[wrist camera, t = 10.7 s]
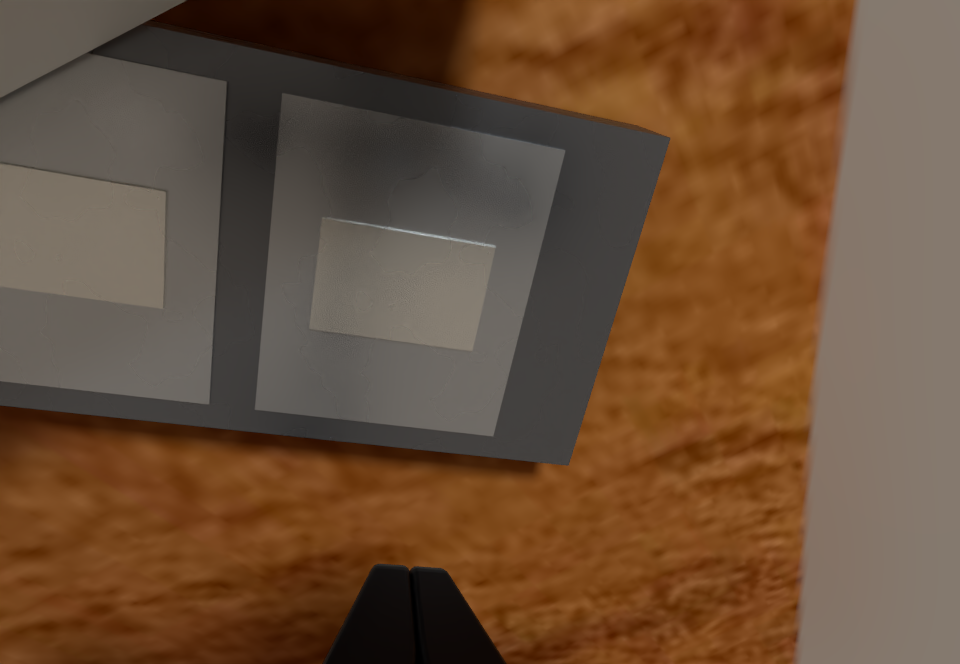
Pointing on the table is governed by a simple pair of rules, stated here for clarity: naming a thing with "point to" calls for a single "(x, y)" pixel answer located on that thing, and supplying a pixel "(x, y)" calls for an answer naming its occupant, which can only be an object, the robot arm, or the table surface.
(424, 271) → the server tray
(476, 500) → the table surface
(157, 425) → the table surface
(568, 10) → the table surface
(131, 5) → the upright grey slab
